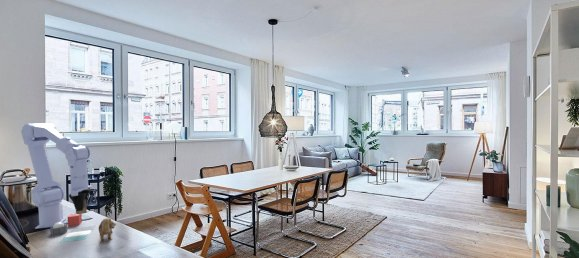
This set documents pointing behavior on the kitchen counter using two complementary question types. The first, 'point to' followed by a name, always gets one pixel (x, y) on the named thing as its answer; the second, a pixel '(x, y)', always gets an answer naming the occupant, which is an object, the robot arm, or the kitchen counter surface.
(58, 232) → the dome housing
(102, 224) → the lion figurine
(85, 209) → the walnut pawn
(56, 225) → the dome cap
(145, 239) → the kitchen counter surface
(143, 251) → the kitchen counter surface
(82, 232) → the game track
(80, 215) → the red die
